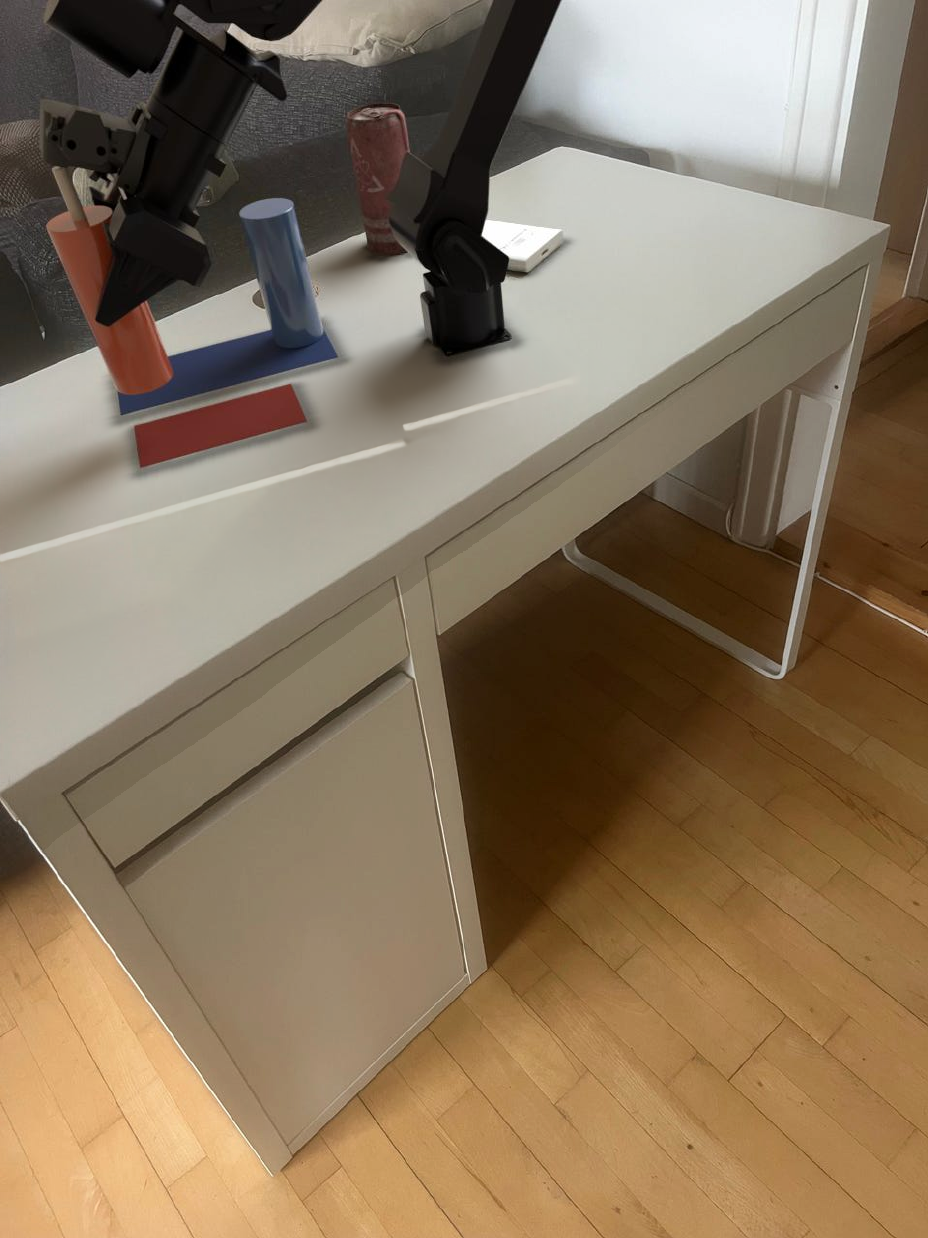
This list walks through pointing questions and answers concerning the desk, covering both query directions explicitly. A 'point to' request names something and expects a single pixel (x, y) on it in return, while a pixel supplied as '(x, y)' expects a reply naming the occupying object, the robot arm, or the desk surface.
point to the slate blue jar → (282, 271)
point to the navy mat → (227, 367)
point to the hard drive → (522, 243)
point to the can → (377, 168)
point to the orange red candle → (85, 260)
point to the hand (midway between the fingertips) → (97, 310)
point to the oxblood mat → (217, 424)
